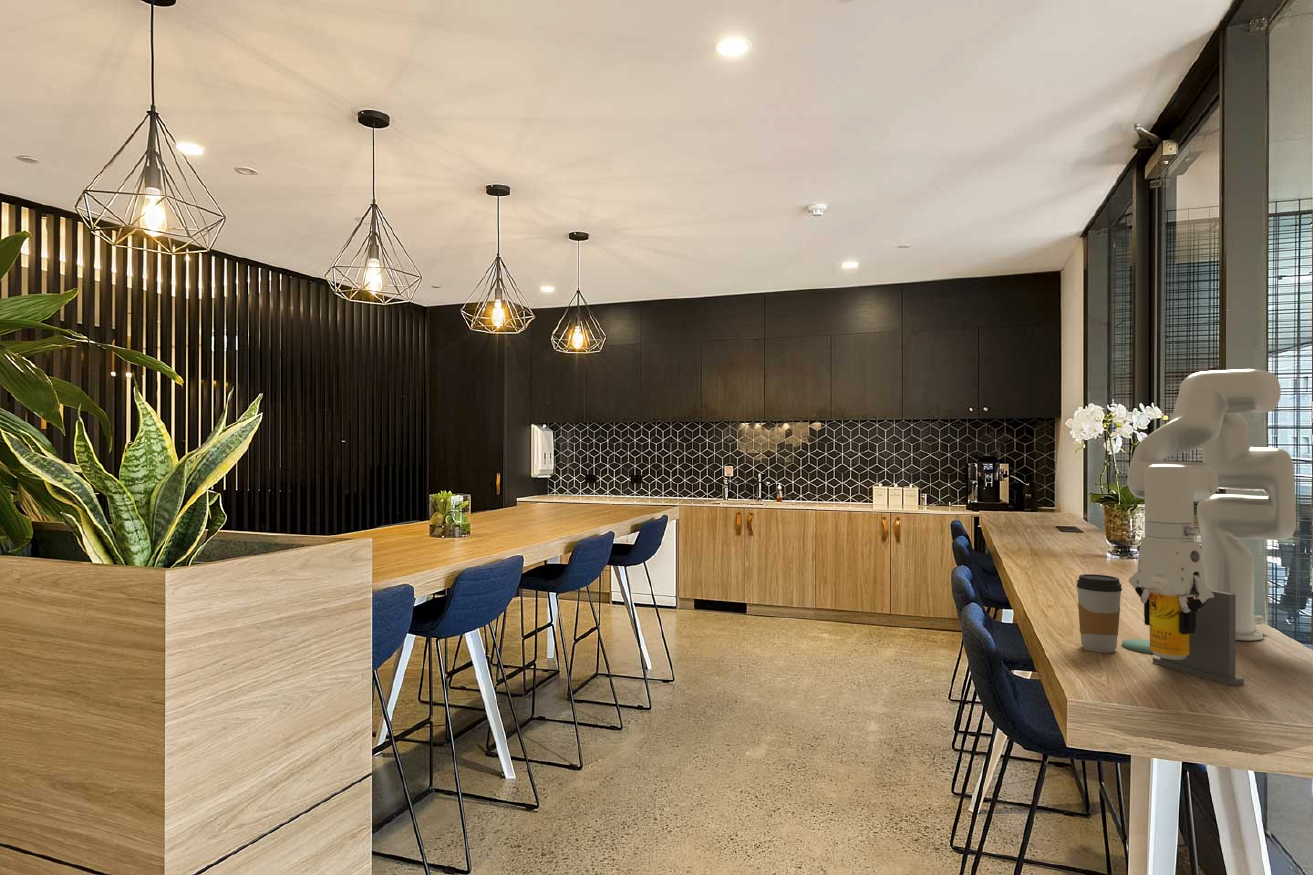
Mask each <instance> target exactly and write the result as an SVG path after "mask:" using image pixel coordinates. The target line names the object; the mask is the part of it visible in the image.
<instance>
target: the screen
mask: <svg viewBox="0 0 1313 875" xmlns="http://www.w3.org/2000/svg"><path fill="white" fill-rule="evenodd" d="M1209 590H1210V589H1209ZM1210 591H1211V592H1212V593H1213V594H1214V597H1213V598H1212V599H1211V600H1210V601H1208V602H1207V603H1206V604H1205V605H1204V606H1203V607H1201V608H1200V610H1199V611H1197V612H1196V629H1195V633H1191V634H1189V655H1188V656H1186V658H1185V659H1181V660H1175V659H1166V658H1161V657H1158V656H1155V657H1152V663H1153V664H1156V665H1158V666H1163V667H1165V668H1169V669H1174V670H1175V671H1176V670H1177V671H1180V672H1183V673H1187V674H1191V675H1193V676H1198V677H1200V678H1204V679H1206V680H1210V681H1214V682H1218V683H1220V684H1224V685H1228V686H1232V687H1234V686H1241V684H1242V685H1244V684H1245V679H1244V677H1240V676H1236V640H1235V639H1236V594H1232V593H1227V592H1221V591H1216V590H1210ZM1195 597H1196V599H1197V598H1198V597H1199V595H1196V594H1195Z"/></svg>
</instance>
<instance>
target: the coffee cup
mask: <svg viewBox="0 0 1313 875" xmlns="http://www.w3.org/2000/svg"><path fill="white" fill-rule="evenodd" d="M1120 582H1121V581H1120V578H1118V577H1117V576H1111V575H1106V574H1105V575H1104V574H1095V573H1094V574H1093V573H1092V574H1091V573H1090V574H1089V573H1088V574H1085V573H1084V574H1080V575H1079V576H1078V579H1076V588H1077V599H1078V600H1077V601H1078V603H1077V605H1078V610H1077V611H1078V620H1079V621H1078V622H1079V633H1080V642H1081V646H1082V648H1083V649H1084V650H1086V651H1090V652H1096V653H1102V652H1104V653H1105V654H1108V653H1109V652H1112V653H1114V652H1116V650H1117V648H1118V647H1117V646H1118V644H1117V643H1118V636H1119V627H1120V614H1121V594H1122V591H1123V588H1122V585H1123V584H1122V583H1120ZM1109 654H1110V653H1109Z"/></svg>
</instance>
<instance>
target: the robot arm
mask: <svg viewBox="0 0 1313 875" xmlns="http://www.w3.org/2000/svg"><path fill="white" fill-rule="evenodd" d="M1281 391H1282V390H1281V384H1280V381H1279V379H1278V378H1277V376H1276V375H1275V374H1274V373H1272V372H1270V371H1266V370H1263V369H1262V370H1261V369H1256V368H1245V369H1244V368H1242V369H1240V368H1239V369H1226V370H1225V369H1222V370H1221V369H1220V370H1207V371H1206V370H1205V371H1204V370H1203V371H1197V372H1195V373H1192V374H1190V375H1188V376H1187V377H1185V379H1184V380H1182V381H1181V384H1180V386H1179V392H1178V394H1177V395H1178V396H1177V397H1176V401H1175V405H1174V408H1173V412H1172V415H1171V418H1170V421H1169V422H1167V423H1165V424H1163V425H1161V426H1160V427H1158V428H1157V429H1155V430H1154V431H1152V432H1151V433H1149V434H1148V435H1147V436H1145V437H1144V438H1142V440H1141V441H1140V442H1139V443H1138V444H1137V446H1136V447H1135V449H1134V451H1133V454H1132V458H1131V461H1130V464H1129V467H1128V471H1127V479H1126V480H1127V482H1126V484H1127V487H1128V489H1129V492H1130V493H1131V494H1132V495H1133V496H1135V497H1136V498H1140V499H1143V500H1144V535H1143V536H1142V537H1141V541H1140V543H1139V544H1140V545H1139V551H1138V560H1137V571H1136V572H1134V574H1133V575H1131V576H1130V577H1129V579H1128V583H1129V584H1130V585H1131V586H1132V588H1133V589H1134V591H1135V593H1136V594H1137V596H1138V597H1140V602H1141V603H1142V604H1143V618H1144V619H1143V620H1144V625H1145V626H1150V598H1149V587H1150V579H1151V578H1152V577H1153V576H1154V575H1158V576H1165V577H1166V579H1167V580H1168V581H1169V582H1170V583H1171V586H1172V590H1173V594H1175V595H1177V596H1178V599H1179V601H1180V604H1181V607H1182V610H1183V611H1182V612H1180V613H1179V632H1180V633H1181V634H1191V633H1195V629H1196V612H1197V611H1199V610H1200V608H1201V607H1203V606H1204V605H1205V604H1206V603H1207V602H1208V601H1210V600H1211V599H1212V598H1213V597H1214V594H1213V593H1212V592H1211V591H1210V590H1216V591H1221V592H1227V593H1232V594H1236V639H1235V641H1245V642H1246V641H1248V642H1249V641H1252V642H1253V641H1261V640H1262V639H1263V638H1264V636H1263V635H1264V634H1263V632H1262V631H1260V630H1258V629H1256V626H1257V625H1264V624H1265V623H1266V618H1265V617H1264V616H1263V615H1256V614H1255V605H1254V604H1255V583H1254V582H1255V559H1254V556H1253V553H1252V552H1251V551H1250V549H1249V548H1248V547H1247V546H1246V545H1245V544H1244V543H1243V542H1242V541H1241V540H1240V539H1255V540H1269V541H1270V540H1271V541H1285V540H1289V539H1290V538H1292V536H1293V535H1294V534H1295V531H1296V526H1297V524H1296V522H1297V512H1296V511H1297V509H1296V485H1295V484H1296V483H1295V468H1294V462H1293V459H1292V457H1291V455H1290V453H1289V452H1288V451H1286V450H1285V449H1283V448H1279V447H1265V446H1264V447H1262V446H1261V447H1258V446H1251V445H1250V442H1249V425H1248V422H1247V421H1246V420H1245V418H1244V417H1243V416H1242V414H1241V413H1269V412H1272V411H1273V410H1275V408H1276V407H1277V406H1278V404H1279V402H1280V399H1281V395H1282V394H1281V393H1282V392H1281ZM1199 448H1200V449H1201V457H1202V458H1201V459H1202V460H1201V461H1202V462H1200V461H1181V460H1179V461H1178V460H1164V459H1166V458H1169V457H1172V456H1175V455H1180V454H1182V453H1186V452H1189V451H1193V450H1196V449H1199ZM1218 489H1222V490H1233V491H1234V490H1235V491H1236V490H1238V491H1239V490H1240V491H1259V492H1260V491H1261V492H1264V493H1265V495H1251V494H1250V495H1247V494H1234V493H1233V494H1232V493H1217V490H1218ZM1215 493H1216V494H1215ZM1194 502H1196V503H1197V502H1198V504H1197V506H1196V514H1197V522H1198V526H1199V527H1198V528H1196V527H1195V523H1194V522H1195V520H1194V519H1195V515H1194V513H1195V512H1194V510H1195V509H1194V507H1195V505H1194V504H1195V503H1194ZM1195 536H1196V537H1197V536H1200V541H1201V542H1199V540H1195V539H1194V538H1195ZM1209 589H1210V590H1209ZM1195 594H1196V595H1199V597H1198V598H1197V599H1196V597H1195ZM1187 598H1188V600H1187ZM1188 601H1189V603H1188Z"/></svg>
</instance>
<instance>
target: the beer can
mask: <svg viewBox="0 0 1313 875" xmlns="http://www.w3.org/2000/svg"><path fill="white" fill-rule="evenodd" d="M1149 598H1150V625H1149V640H1150V650H1151V651H1152V652H1153V654H1152V655H1154V656H1155V657H1161V658H1166V659H1175V660H1181V659H1185V658H1186V656H1188V655H1189V634H1181V633H1180V632H1179V613H1180V612H1182V611H1183V610H1182V607H1181V604H1180V601H1179V599H1178V596H1177V595H1175V594H1173V590H1172V586H1171V583H1170V582H1169V581H1168V580H1167V579H1166V577H1165V576H1158V575H1154V576H1153V577H1152V578H1151V579H1150V587H1149ZM1187 600H1188V598H1187ZM1188 603H1189V601H1188Z"/></svg>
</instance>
